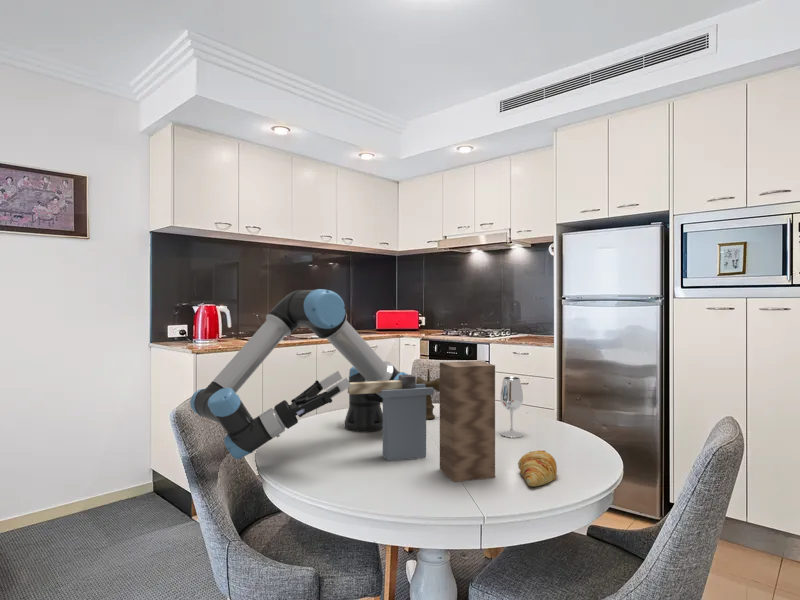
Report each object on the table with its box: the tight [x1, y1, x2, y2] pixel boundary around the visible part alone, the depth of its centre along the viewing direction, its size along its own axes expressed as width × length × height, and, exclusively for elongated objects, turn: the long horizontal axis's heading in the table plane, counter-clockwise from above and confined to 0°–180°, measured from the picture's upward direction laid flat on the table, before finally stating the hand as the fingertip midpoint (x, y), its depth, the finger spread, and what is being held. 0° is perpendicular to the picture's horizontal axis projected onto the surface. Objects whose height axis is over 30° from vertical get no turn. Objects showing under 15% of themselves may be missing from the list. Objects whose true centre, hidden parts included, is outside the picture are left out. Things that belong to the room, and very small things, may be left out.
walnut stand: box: [439, 360, 496, 483], centre depth 136 cm, size 12×10×30 cm
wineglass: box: [500, 376, 524, 439], centre depth 174 cm, size 8×8×20 cm
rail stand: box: [376, 384, 435, 462], centre depth 151 cm, size 16×8×21 cm, turn 107°
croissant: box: [517, 450, 558, 487], centre depth 134 cm, size 21×10×8 cm, turn 157°
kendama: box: [416, 368, 440, 420], centre depth 198 cm, size 6×10×20 cm, turn 79°
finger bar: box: [347, 374, 417, 395], centre depth 148 cm, size 20×4×4 cm, turn 107°
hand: (344, 377), depth 145 cm, fingers open, 13 cm apart
